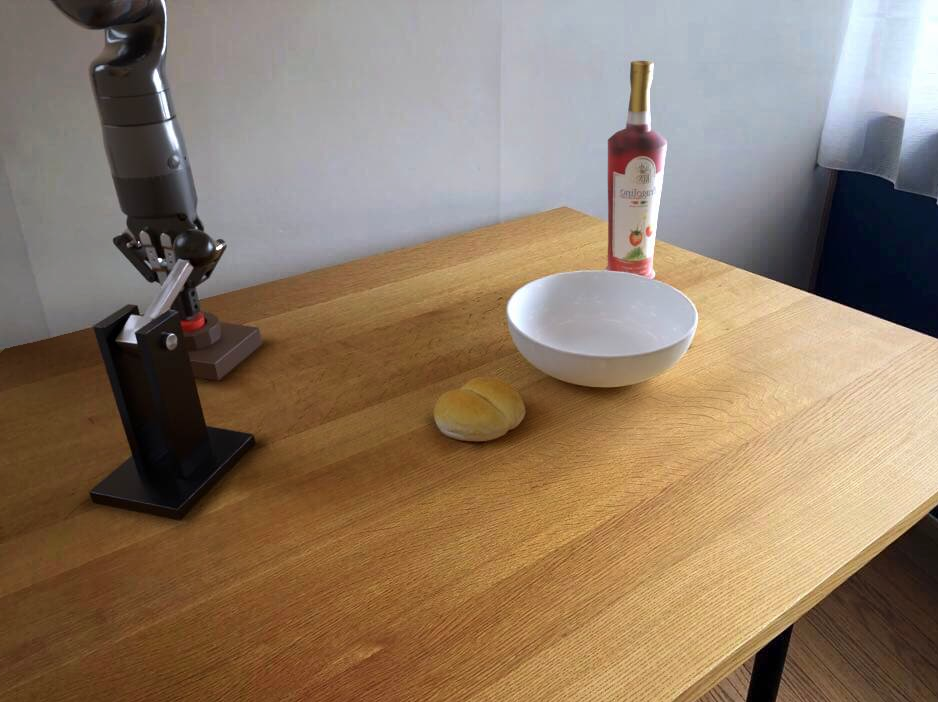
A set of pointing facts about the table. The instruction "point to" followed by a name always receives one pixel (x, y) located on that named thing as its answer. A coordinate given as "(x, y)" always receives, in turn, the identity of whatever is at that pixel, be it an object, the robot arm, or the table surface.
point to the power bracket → (161, 422)
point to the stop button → (193, 323)
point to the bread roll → (479, 410)
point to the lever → (170, 283)
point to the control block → (219, 346)
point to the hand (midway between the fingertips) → (187, 317)
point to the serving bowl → (601, 326)
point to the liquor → (635, 181)
